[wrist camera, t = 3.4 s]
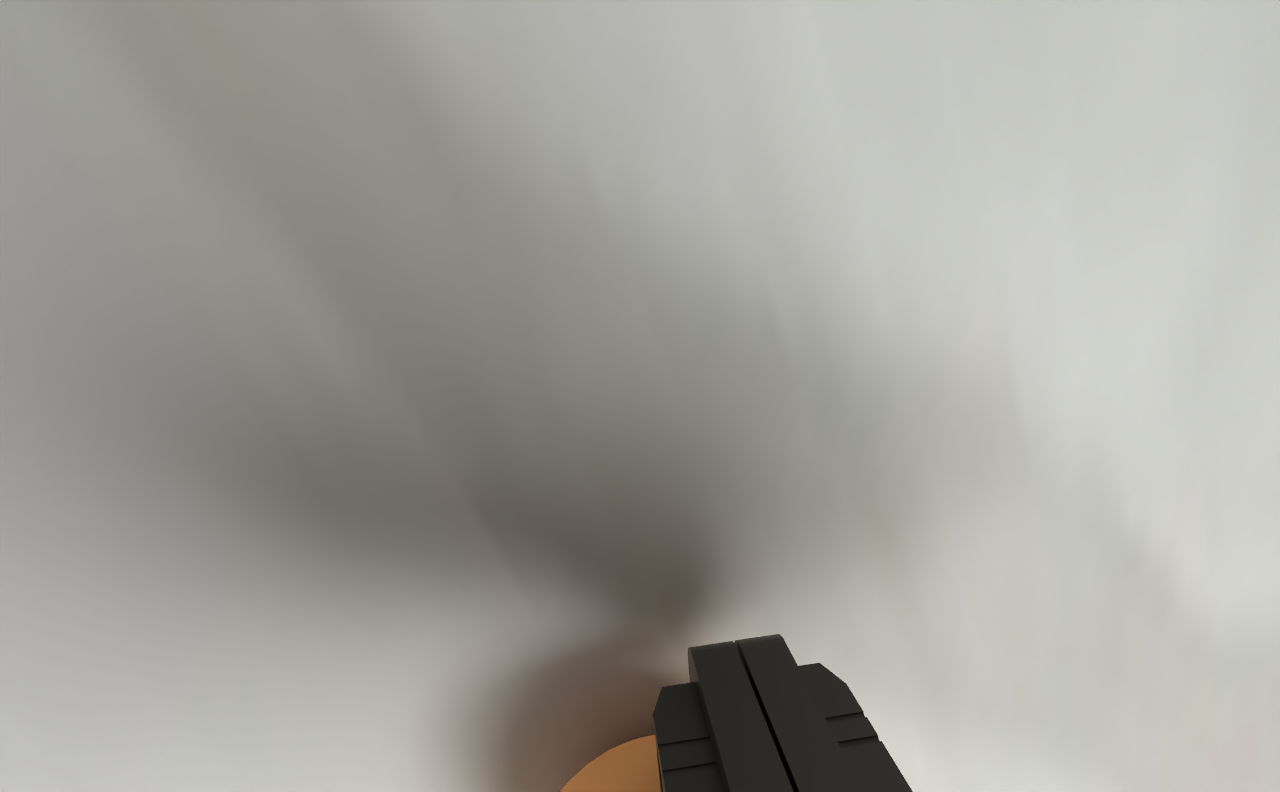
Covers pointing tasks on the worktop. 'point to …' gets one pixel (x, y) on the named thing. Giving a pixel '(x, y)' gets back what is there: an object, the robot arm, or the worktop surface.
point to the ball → (620, 769)
